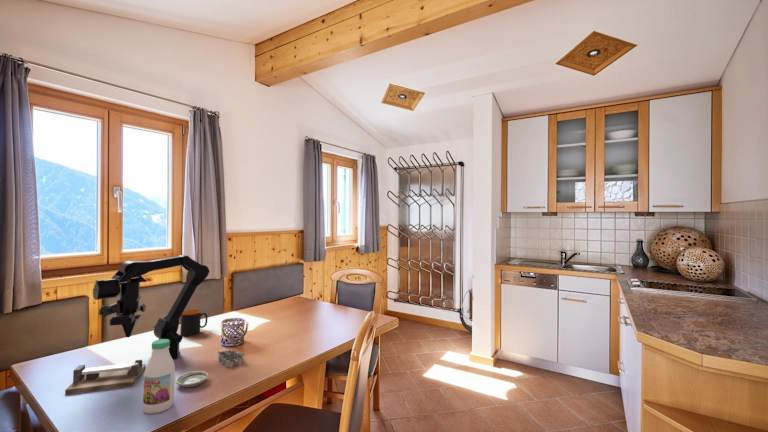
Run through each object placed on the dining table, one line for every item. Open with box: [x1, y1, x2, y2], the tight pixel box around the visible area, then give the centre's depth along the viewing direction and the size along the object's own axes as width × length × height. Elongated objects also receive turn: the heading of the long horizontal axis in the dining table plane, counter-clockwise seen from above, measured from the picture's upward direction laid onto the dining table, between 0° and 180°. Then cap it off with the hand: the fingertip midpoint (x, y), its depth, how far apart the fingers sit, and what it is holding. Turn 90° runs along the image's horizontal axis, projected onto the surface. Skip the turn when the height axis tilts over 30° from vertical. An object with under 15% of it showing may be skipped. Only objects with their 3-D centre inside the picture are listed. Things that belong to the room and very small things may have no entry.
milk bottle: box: [142, 339, 176, 415], centre depth 101 cm, size 8×8×20 cm
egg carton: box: [217, 349, 245, 368], centre depth 134 cm, size 11×8×4 cm
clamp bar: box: [82, 362, 140, 375], centre depth 116 cm, size 16×3×1 cm, turn 112°
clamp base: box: [64, 359, 147, 395], centre depth 116 cm, size 18×14×6 cm
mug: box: [179, 309, 208, 338], centre depth 164 cm, size 8×12×10 cm
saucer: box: [175, 370, 209, 388], centre depth 116 cm, size 10×10×2 cm
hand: (128, 336), depth 125 cm, fingers closed
